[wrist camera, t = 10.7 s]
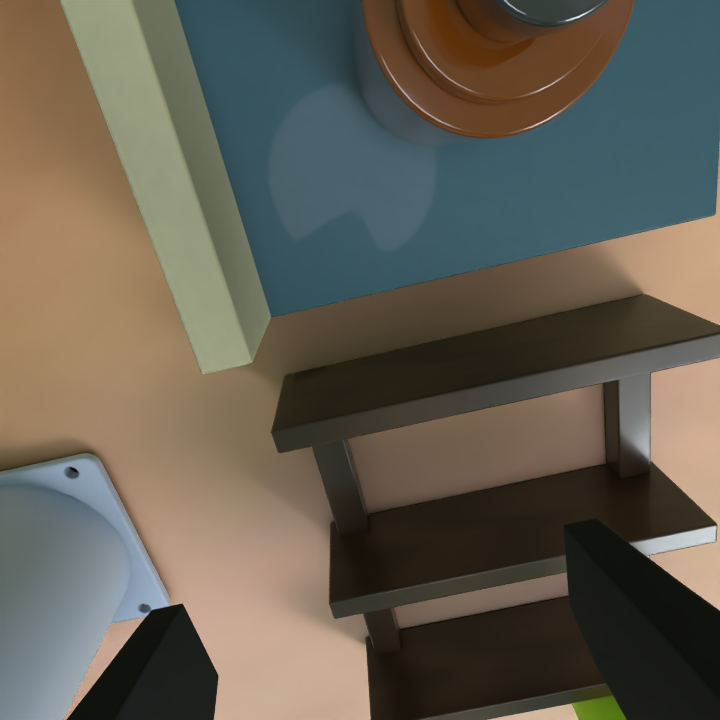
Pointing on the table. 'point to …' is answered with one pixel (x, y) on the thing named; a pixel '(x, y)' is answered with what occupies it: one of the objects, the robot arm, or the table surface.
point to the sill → (373, 158)
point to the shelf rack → (493, 502)
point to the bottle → (479, 63)
